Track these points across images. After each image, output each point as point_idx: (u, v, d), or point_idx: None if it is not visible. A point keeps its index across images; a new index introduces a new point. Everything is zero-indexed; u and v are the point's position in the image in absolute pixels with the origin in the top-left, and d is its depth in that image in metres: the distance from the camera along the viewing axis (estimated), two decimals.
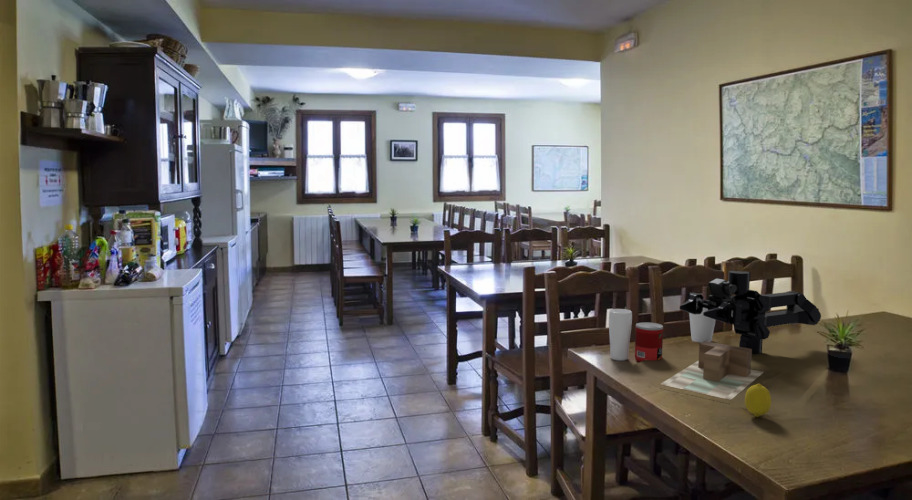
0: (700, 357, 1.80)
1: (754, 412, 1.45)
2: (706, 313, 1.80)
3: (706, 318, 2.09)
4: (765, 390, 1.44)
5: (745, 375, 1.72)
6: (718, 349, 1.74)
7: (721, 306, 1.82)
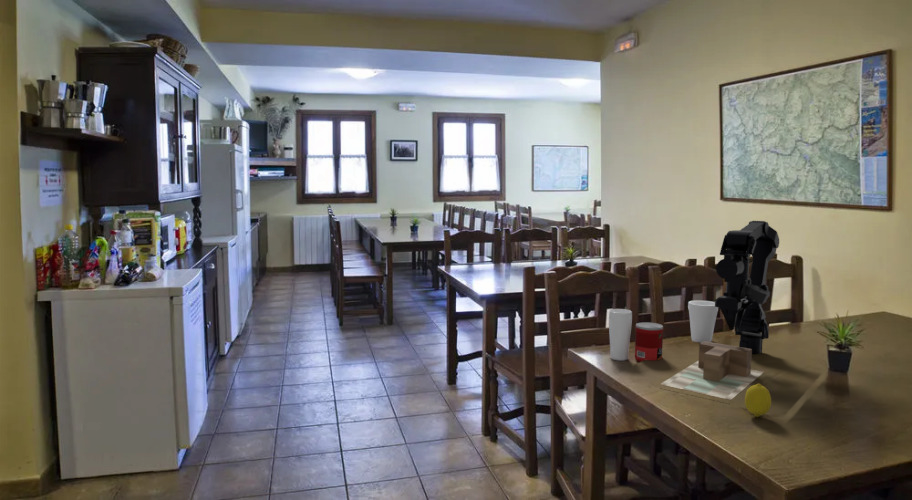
0: (700, 357, 1.80)
1: (754, 412, 1.45)
2: None
3: (706, 318, 2.09)
4: (765, 390, 1.44)
5: (745, 375, 1.72)
6: (718, 349, 1.74)
7: (746, 307, 1.83)
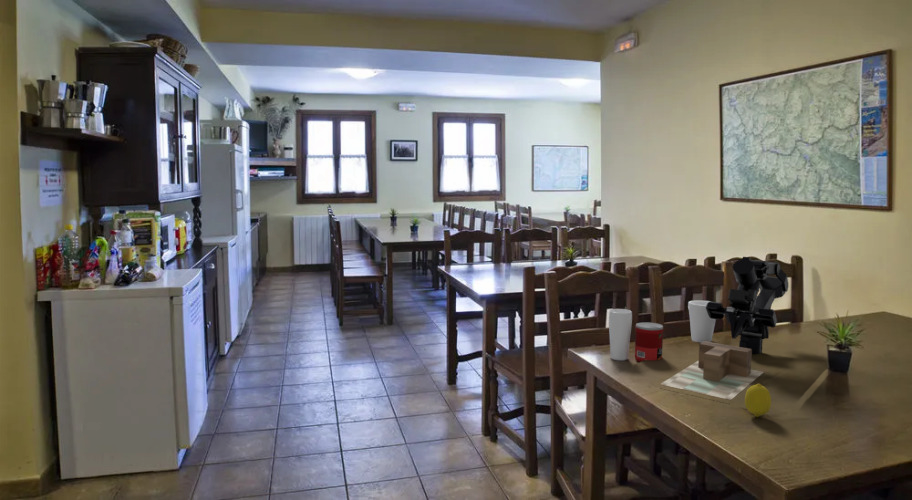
0: (700, 357, 1.80)
1: (754, 412, 1.45)
2: (735, 336, 1.82)
3: (706, 318, 2.09)
4: (765, 390, 1.44)
5: (745, 375, 1.72)
6: (718, 349, 1.74)
7: (741, 318, 1.82)
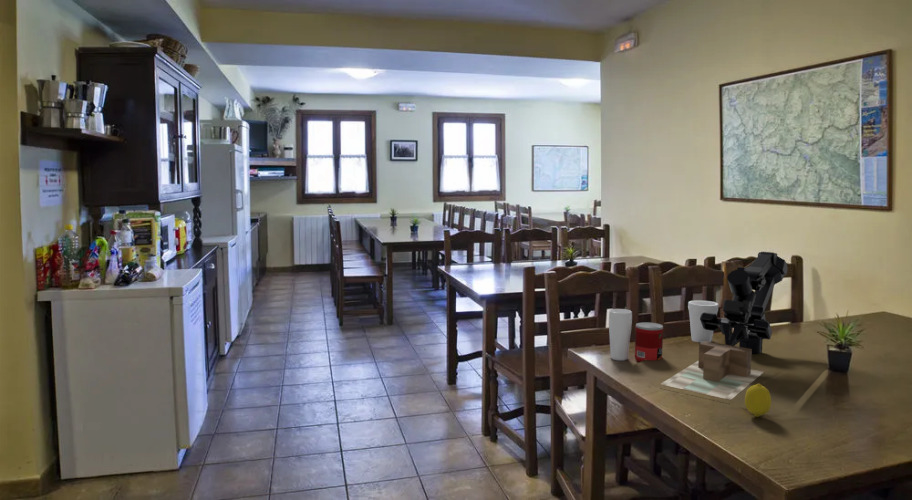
0: (700, 357, 1.80)
1: (754, 412, 1.45)
2: None
3: None
4: (765, 390, 1.44)
5: (745, 375, 1.72)
6: (718, 349, 1.74)
7: (736, 330, 1.79)
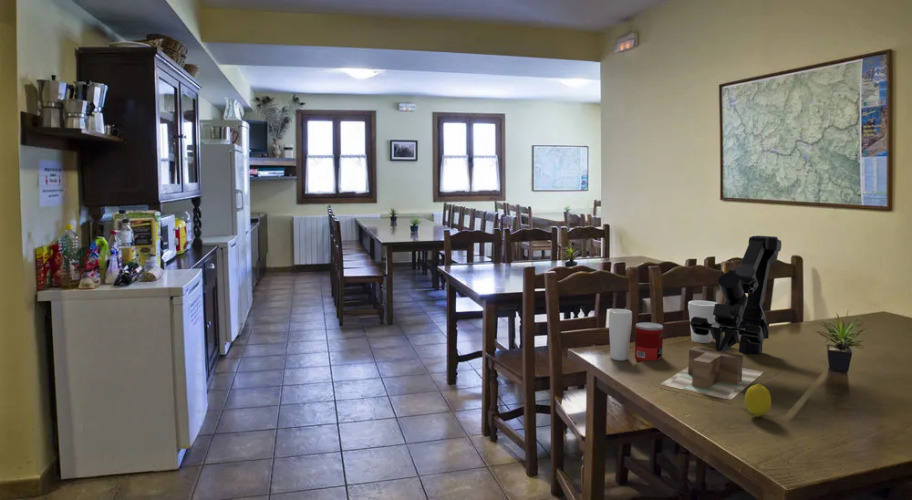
0: (690, 363, 1.74)
1: (754, 412, 1.45)
2: None
3: None
4: (765, 390, 1.44)
5: (736, 382, 1.66)
6: (708, 355, 1.68)
7: (727, 335, 1.73)
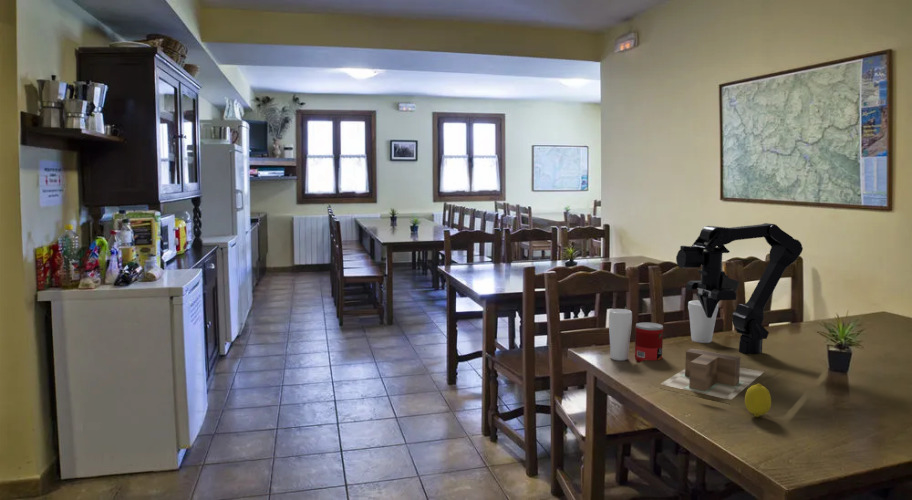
0: (687, 365, 1.72)
1: (754, 412, 1.45)
2: None
3: (706, 318, 2.09)
4: (765, 390, 1.44)
5: (733, 384, 1.64)
6: (705, 357, 1.66)
7: None
